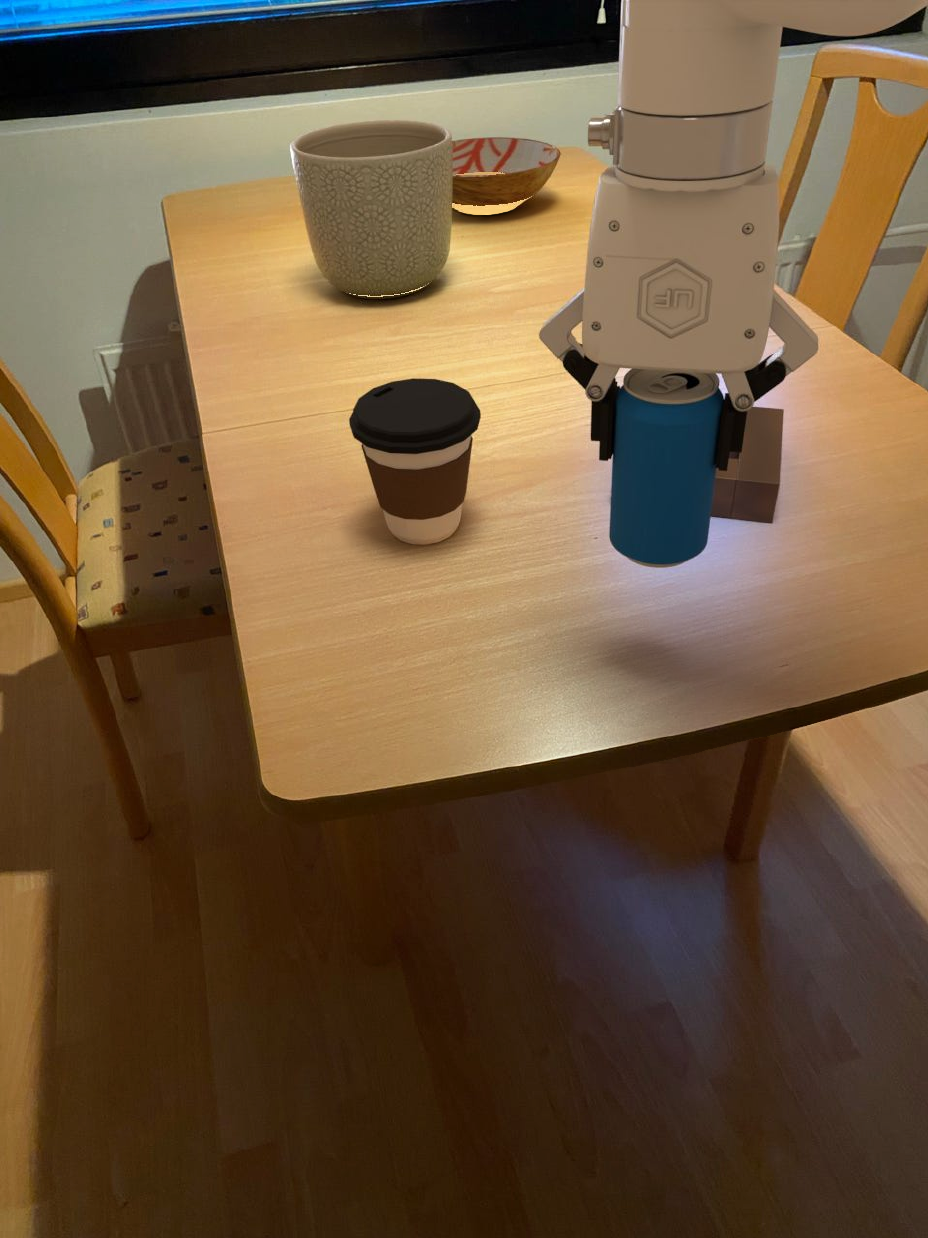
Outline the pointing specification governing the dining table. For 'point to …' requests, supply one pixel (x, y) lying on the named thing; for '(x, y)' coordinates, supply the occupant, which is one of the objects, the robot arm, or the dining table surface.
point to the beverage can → (664, 465)
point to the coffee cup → (418, 454)
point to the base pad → (752, 470)
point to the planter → (377, 203)
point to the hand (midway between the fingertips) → (664, 452)
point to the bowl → (500, 169)
